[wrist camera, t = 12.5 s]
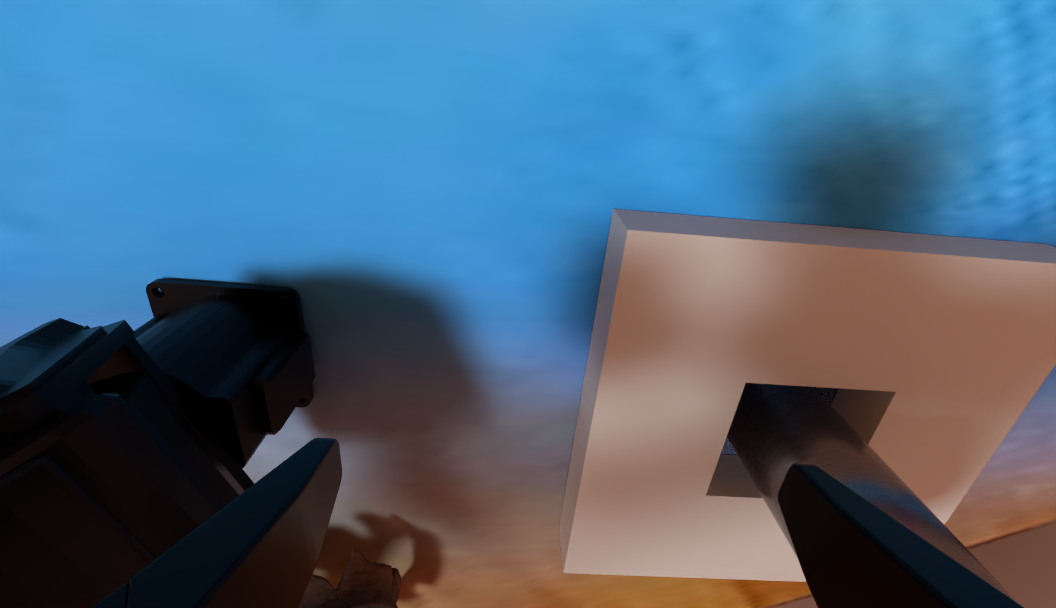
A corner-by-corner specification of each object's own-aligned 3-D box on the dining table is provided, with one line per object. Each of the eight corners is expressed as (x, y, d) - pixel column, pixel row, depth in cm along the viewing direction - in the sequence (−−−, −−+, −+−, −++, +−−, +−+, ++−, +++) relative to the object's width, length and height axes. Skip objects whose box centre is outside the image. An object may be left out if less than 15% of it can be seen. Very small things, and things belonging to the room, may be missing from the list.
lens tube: (703, 442, 26) (900, 831, 13) (729, 361, 24) (1007, 735, 10) (796, 446, 27) (1084, 830, 13) (831, 367, 24) (1226, 736, 11)
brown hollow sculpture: (280, 463, 27) (306, 598, 21) (404, 486, 34) (449, 593, 28) (158, 611, 28) (151, 779, 22) (302, 605, 35) (326, 732, 29)
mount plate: (559, 526, 29) (563, 573, 26) (613, 208, 20) (627, 229, 18) (867, 539, 30) (902, 585, 28) (1046, 244, 21) (1122, 268, 19)
